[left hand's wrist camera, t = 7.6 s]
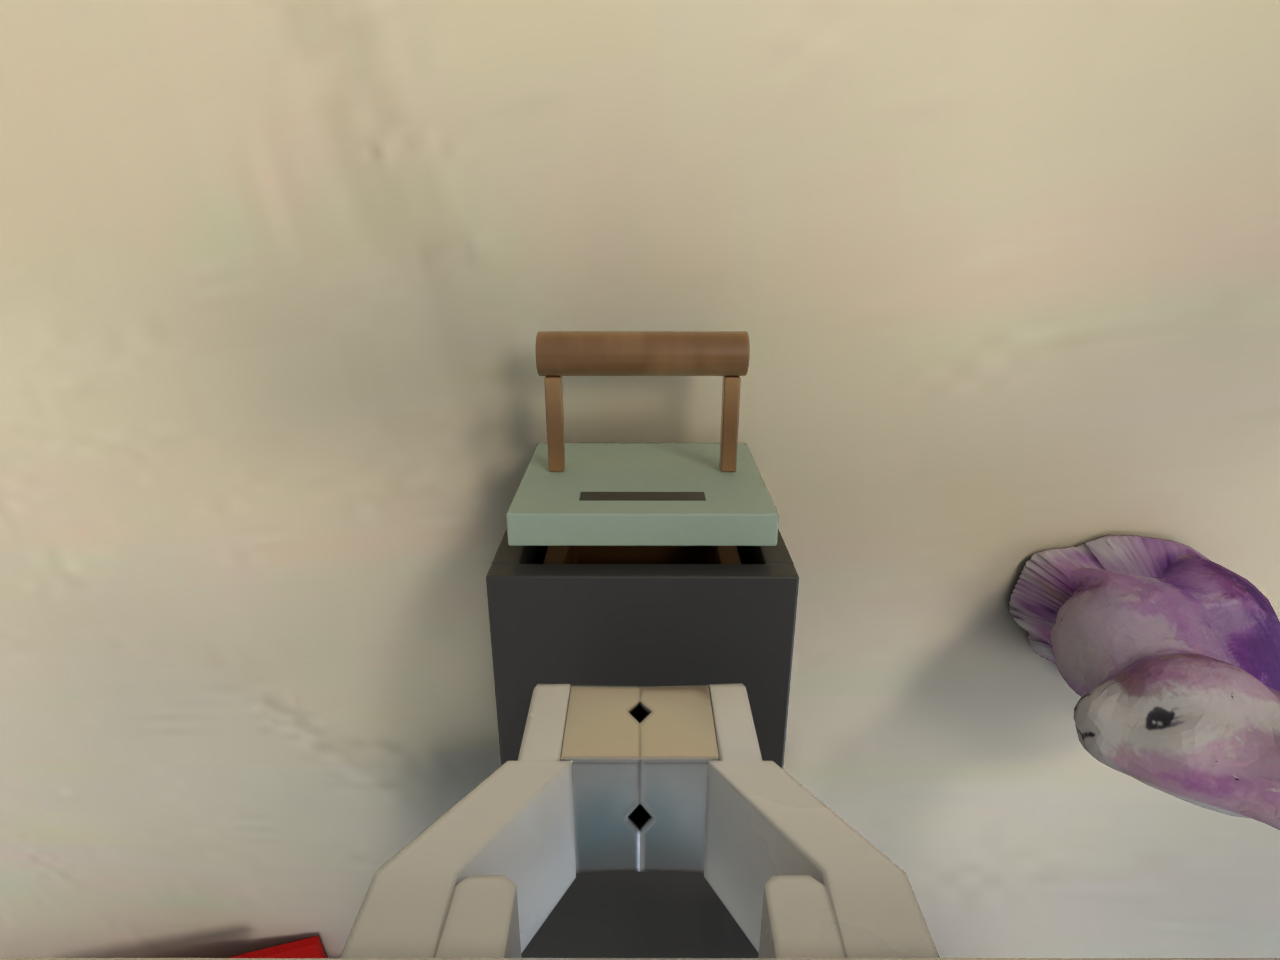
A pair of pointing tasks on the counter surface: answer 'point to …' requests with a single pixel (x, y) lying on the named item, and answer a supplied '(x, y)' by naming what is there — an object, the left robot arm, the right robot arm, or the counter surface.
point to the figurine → (1164, 666)
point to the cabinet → (647, 656)
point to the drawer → (642, 464)
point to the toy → (290, 950)
